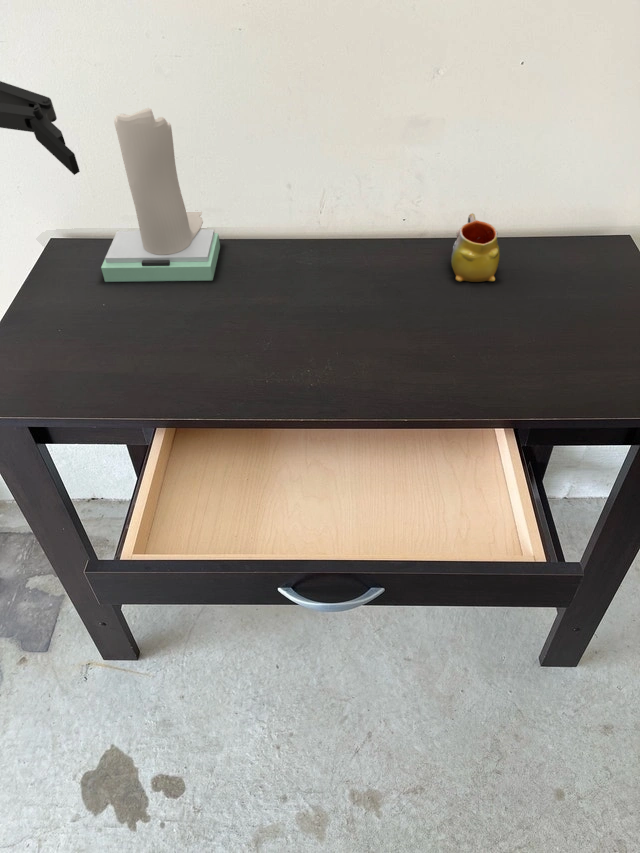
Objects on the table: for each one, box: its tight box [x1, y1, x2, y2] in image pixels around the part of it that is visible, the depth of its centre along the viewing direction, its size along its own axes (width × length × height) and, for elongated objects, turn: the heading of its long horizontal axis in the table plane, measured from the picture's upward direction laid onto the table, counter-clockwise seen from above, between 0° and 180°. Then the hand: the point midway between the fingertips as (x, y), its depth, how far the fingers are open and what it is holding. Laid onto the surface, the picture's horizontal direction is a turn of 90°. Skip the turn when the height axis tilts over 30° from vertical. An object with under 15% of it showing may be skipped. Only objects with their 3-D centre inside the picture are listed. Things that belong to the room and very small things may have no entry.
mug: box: [450, 212, 501, 283], centre depth 96 cm, size 12×7×7 cm, turn 174°
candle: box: [113, 107, 204, 255], centre depth 94 cm, size 7×14×20 cm, turn 167°
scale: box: [100, 228, 221, 283], centre depth 99 cm, size 16×10×3 cm, turn 89°
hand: (22, 197), depth 69 cm, fingers open, 13 cm apart
